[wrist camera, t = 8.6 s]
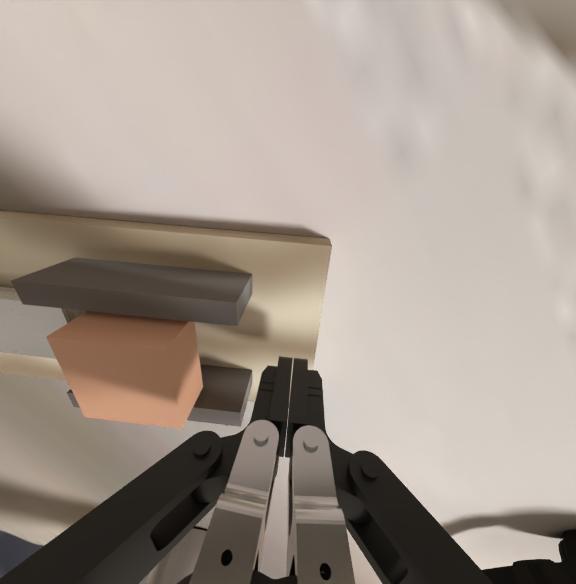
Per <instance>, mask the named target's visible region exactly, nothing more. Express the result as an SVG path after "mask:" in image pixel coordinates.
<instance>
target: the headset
mask: <svg viewBox="0 0 576 584" xmlns="http://www.w3.org/2000/svg"><path fill="white" fill-rule="evenodd" d="M559 552H560V556H561V560H562V562H559V563H555V562H553V561H551V560H550V559H535V560H521V561H517V562H514V563H513V565H512V566H506V567H499V568H492V569H485V570H482V571H483V573H484V574H485V575H486V576H487V577H488V578H489V579H490V580H491V581H492V582H493V584H576V530H569V531H567V532H566V533H565V536H564V539H563V540H562V541H560V543H559Z"/></svg>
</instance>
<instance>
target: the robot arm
mask: <svg viewBox="0 0 576 584" xmlns="http://www.w3.org/2000/svg"><path fill="white" fill-rule="evenodd" d="M292 361H293V358H291V357H282V356H279V359H278V366H269V365H268V366H267V367H266V368H265V369H264V371H263V372H262V374H261V379H260V383H259V387H258V392H257V396H256V400H255V404H254V409H253V413H252V417H251V421H250V423H249V424H248V426H247V427H246V428H245V429H244V430H243V431H241V432H240V433H238V434H235V435H231V436H227V437H222V438H220V437H219V436H218V435H217V434H216V433H215V432H212V431H202V432H199V433H197V434H195V435H193V436H192V437H190V438H189V439H188V440H186V441H185V442H184V443H182V444H181V445H180V446H178V447H177V448H176V449H174V450H173V451H172V452H170V453H169V454H168V455H166V456H165V457H164V458H162V459H161V460H159V461H158V462H157V463H155V464H154V465H153V466H151V467H150V468H149V469H147V470H146V471H145V472H143V473H142V474H141V475H139V476H138V477H137V478H135V479H134V480H132V481H131V482H130V483H128V484H127V485H126V486H124V487H123V488H122V489H120V490H119V491H118V492H116V493H115V494H114V495H112V496H111V497H110V498H108V499H107V500H106V501H104V502H103V503H101V504H100V505H99V506H97V507H96V508H95V509H93V510H92V511H91V512H89V513H88V514H87V515H85V516H84V517H83V518H81V519H80V520H79V521H77V522H76V523H74V524H73V525H72V526H70V527H69V528H68V529H66V530H65V531H64V532H62V533H61V534H60V535H58V536H57V537H56V538H54V539H53V540H52V541H50V542H49V543H48V544H46V545H45V546H43V547H42V548H41V549H40V550H38V551H37V552H35V553H34V554H33V555H31V556H30V557H29V558H27V559H26V560H25V561H23V562H22V563H21V564H19V565H18V566H17V567H16V568H14V569H12V570H11V571H10V572H8V573H7V574H6V575H4V576H3V577H2V578H0V584H139V583H140V581H141V580H142V579H143V578H144V577H145V576H146V575H147V574H148V573H149V572H150V571H151V570H152V571H151V573H150V576H149V578H148V580H147V583H146V584H355V579H354V573H353V567H352V561H351V555H350V548H349V542H348V536H347V530H346V528H347V529H348V531H349V532H350V534H351V535H352V537H353V538H354V540H355V542H356V543H357V545H358V546H359V548H360V549H361V551H362V552H363V554H364V555H365V557H366V559H367V560H368V562H369V563H370V565H371V566H372V568H373V569H374V571H375V572H376V574H377V576H378V577H379V579H380V580H381V582H382V583H383V584H493V582H492V581H491V580H490V579H489V578H488V577H487V576H486V575H485V574H484V573H483V571H482V570H481V569H480V568H479V567H478V566H477V565H476V564H475V563H474V561H473V560H472V559H471V558H470V557H469V556H468V555H467V554H466V553H465V552H464V550H463V549H462V548H461V547H460V546H459V545H458V544H457V543H456V542H455V541H454V539H453V538H452V537H451V536H450V535H449V534H448V533H447V532H446V531H445V530H444V528H443V527H442V526H441V525H440V524H439V523H438V522H437V521H436V520H435V518H434V517H433V516H432V515H431V514H430V513H429V512H428V511H427V510H426V509H425V507H424V506H423V505H422V504H421V503H420V502H419V501H418V500H417V499H416V498H415V496H414V495H413V494H412V493H411V492H410V491H409V490H408V489H407V488H406V487H405V485H404V484H403V483H402V482H401V481H400V480H399V479H398V478H397V477H396V476H395V474H394V473H393V472H392V471H391V470H390V469H389V468H388V467H387V466H386V464H385V463H384V462H383V461H382V460H381V459H380V458H379V457H378V456H376V455H375V454H373V453H371V452H369V451H358V452H356V453H354V454H352V453H350V452H348V451H346V450H343V449H341V448H340V447H338V446H336V445H335V444H334V443H333V442H332V441H331V440H330V439H329V437H328V435H327V433H326V430H325V420H324V405H323V390H322V379H321V377H320V375H319V373H318V371H314V370H308V359H301V358H294V361H293V371H292ZM291 372H292V380H291ZM290 384H291V391H290ZM289 396H290V403H289ZM288 408H289V415H288ZM287 419H288V427H287ZM286 429H287V439H286V451H285V457H289V458H290V462H289V474H288V545H287V577H284V578H280V579H271V578H269V577H268V576H266V575H264V574H262V573H261V572H260V566H261V560H262V554H263V547H264V540H265V533H266V528H267V522H268V516H269V511H270V505H271V499H272V494H273V488H274V482H275V477H276V475H277V471H278V461H279V456H280V457H284V447H285V438H286ZM215 505H216V506H215ZM214 506H215V509H214V512H213V515H212V518H211V521H210V524H209V527H208V530H207V531H204V530H199V529H193V527H194V526H195V525H196V524H197V523H198V522H199V521H200V520H201V519H202V518H203V517H204V516H205V515H206V514H207V513H208V512H209V511H210V510H211V509H212V508H213V507H214Z"/></svg>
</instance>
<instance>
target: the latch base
mask: <svg viewBox="0 0 576 584" xmlns="http://www.w3.org/2000/svg"><path fill="white" fill-rule="evenodd" d="M331 248H332V245H331V242H330V239H327V238H316V237H304V236H292V235H281V234H269V233H258V232H246V231H234V230H223V229H211V228H200V227H188V226H176V225H165V224H153V223H141V222H130V221H118V220H107V219H95V218H83V217H72V216H60V215H48V214H37V213H25V212H14V211H2V210H0V287H8V288H15V290H16V292H17V294H18V296H19V298H20V300H21V302H22V304H24V305H34V306H44V307H53V308H63V309H73V310H83V311H85V312H87V311H93V312H103V313H112V314H122V315H132V316H142V317H152V318H162V319H171V320H181V321H191V322H195V329H196V336H197V344H198V352H199V359H200V367H201V374H202V382H203V388H202V390H201V392H200V394H199V396H198V398H197V400H196V402H195V404H194V406H193V408H192V410H191V412H190V414H189V416H188V418H187V420H190V421H198V422H207V423H215V424H224V425H232V426H241V424H242V420H243V416H244V412H245V409H246V405H247V401H253V402H255V400H256V396H257V392H258V387H259V383H260V379H261V374H262V372H263V371H264V369H265V368H266V367H267V366H268V365H269V366H278V359H279V356H282V357H291V358H293V361H294V358H301V359H308V370H313V365H314V358H315V352H316V345H317V339H318V332H319V326H320V319H321V313H322V306H323V300H324V293H325V287H326V280H327V274H328V267H329V261H330V254H331ZM293 361H292V371H293ZM0 373H7V374H16V375H24V376H33V377H42V378H51V379H59V380H67V379H66V377H65V375H64V373H63V371H62V369H61V367H60V365H59V363H58V361H57V359H53V358H44V357H36V356H28V355H19V354H11V353H3V352H0ZM291 380H292V372H291ZM290 391H291V384H290ZM67 394H68V396H69V398H70V400H71V402H72V404H73V406H74V407H80V406H79V404H78V402H77V400H76V398H75V396H74V394H73V392H72V390H71V389H70V390H69V391H68V392H67ZM289 403H290V396H289Z"/></svg>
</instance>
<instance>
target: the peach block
mask: <svg viewBox="0 0 576 584" xmlns="http://www.w3.org/2000/svg"><path fill="white" fill-rule="evenodd" d="M46 338H47V340H48V342H49V344H50V347H51V349H52V351H53V353H54V355H55V357H56V359H57V361H58V363H59V365H60V367H61V369H62V371H63V373H64V375H65V377H66V379H67V382H68V384H69V386H70V388H71V390H72V392H73V394H74V396H75V398H76V400H77V402H78V404H79V406H80V408H81V410H82V412H83V414H84V416H85V417H87V418H96V419H104V420H112V421H121V422H129V423H137V424H146V425H154V426H163V427H171V428H179V429H182V428H183V426H184V424H185V422H186V420H187V418H188V416H189V414H190V412H191V410H192V408H193V406H194V404H195V402H196V400H197V398H198V396H199V394H200V392H201V390H202V388H203V382H202V374H201V367H200V359H199V352H198V344H197V336H196V329H195V322H191V321H181V320H171V319H162V318H152V317H142V316H132V315H122V314H112V313H103V312H93V311H87V312H85V313H83V314H82V315H80V316H79V317H77V318H75V319H74V320H72V321H71V322H69V323H67V324H66V325H64V326H63V327H61V328H59V329H58V330H56V331H55V332H53V333H51V334H50V335H48V336H47V337H46Z"/></svg>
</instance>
